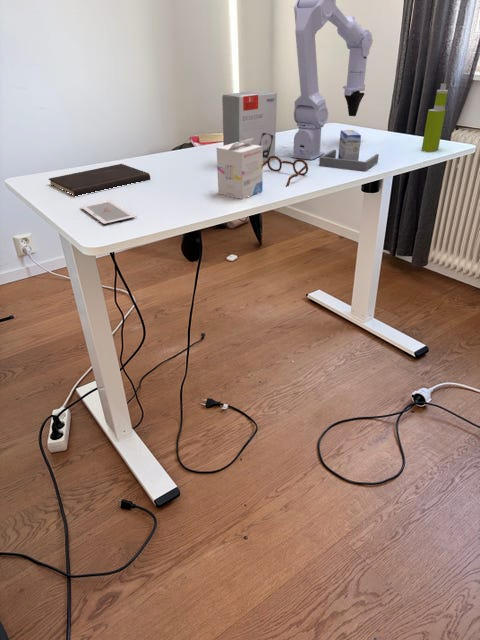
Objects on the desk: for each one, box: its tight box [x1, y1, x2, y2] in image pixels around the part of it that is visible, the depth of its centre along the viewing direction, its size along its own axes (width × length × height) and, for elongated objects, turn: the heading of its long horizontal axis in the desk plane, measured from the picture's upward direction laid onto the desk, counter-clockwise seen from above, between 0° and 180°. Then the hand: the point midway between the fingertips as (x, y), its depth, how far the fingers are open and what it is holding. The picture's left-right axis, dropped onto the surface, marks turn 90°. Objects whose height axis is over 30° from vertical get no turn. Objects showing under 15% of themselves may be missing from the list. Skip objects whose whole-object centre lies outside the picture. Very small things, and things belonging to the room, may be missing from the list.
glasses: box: [263, 155, 309, 188], centre depth 137 cm, size 13×13×5 cm
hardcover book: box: [48, 163, 151, 197], centre depth 137 cm, size 16×23×2 cm
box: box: [318, 149, 380, 172], centre depth 149 cm, size 11×15×2 cm
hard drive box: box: [221, 90, 278, 163], centre depth 149 cm, size 16×8×20 cm, turn 129°
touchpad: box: [80, 199, 137, 225], centre depth 114 cm, size 8×15×2 cm, turn 36°
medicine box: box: [337, 129, 362, 161], centre depth 150 cm, size 8×4×9 cm, turn 4°
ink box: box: [216, 138, 264, 200], centre depth 123 cm, size 9×8×13 cm
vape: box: [421, 83, 449, 153], centre depth 158 cm, size 4×6×20 cm, turn 126°
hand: (352, 115), depth 168 cm, fingers closed
